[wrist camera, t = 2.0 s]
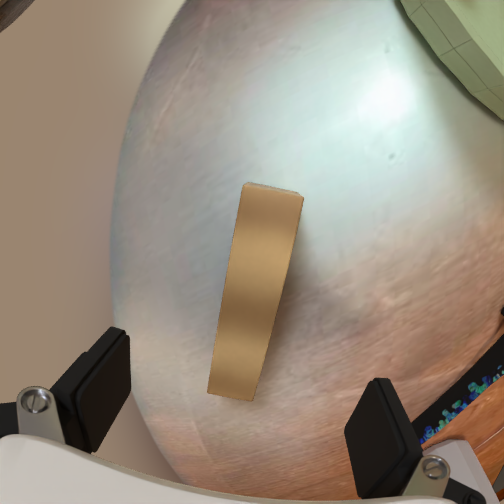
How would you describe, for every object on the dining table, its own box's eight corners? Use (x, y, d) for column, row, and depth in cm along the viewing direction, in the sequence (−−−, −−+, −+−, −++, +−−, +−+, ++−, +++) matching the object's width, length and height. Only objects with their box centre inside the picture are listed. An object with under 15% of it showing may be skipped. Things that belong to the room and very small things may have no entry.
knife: (571, 202, 14) (602, 215, 10) (579, 224, 14) (607, 239, 10) (356, 431, 25) (361, 467, 21) (374, 439, 25) (380, 473, 21)
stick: (246, 181, 17) (242, 184, 14) (298, 192, 17) (304, 197, 14) (213, 366, 21) (206, 393, 18) (254, 374, 21) (252, 402, 18)
